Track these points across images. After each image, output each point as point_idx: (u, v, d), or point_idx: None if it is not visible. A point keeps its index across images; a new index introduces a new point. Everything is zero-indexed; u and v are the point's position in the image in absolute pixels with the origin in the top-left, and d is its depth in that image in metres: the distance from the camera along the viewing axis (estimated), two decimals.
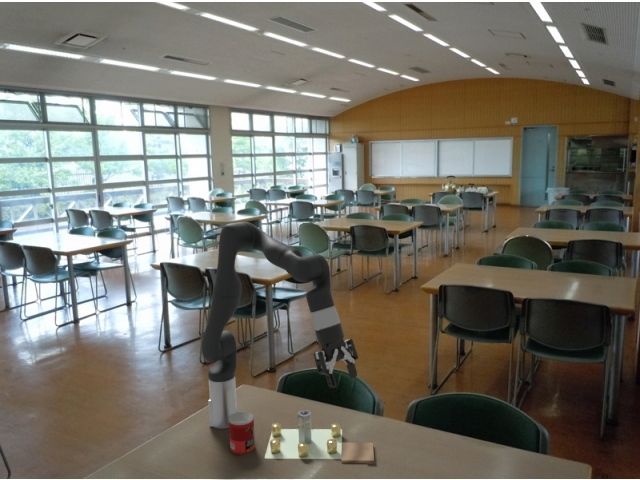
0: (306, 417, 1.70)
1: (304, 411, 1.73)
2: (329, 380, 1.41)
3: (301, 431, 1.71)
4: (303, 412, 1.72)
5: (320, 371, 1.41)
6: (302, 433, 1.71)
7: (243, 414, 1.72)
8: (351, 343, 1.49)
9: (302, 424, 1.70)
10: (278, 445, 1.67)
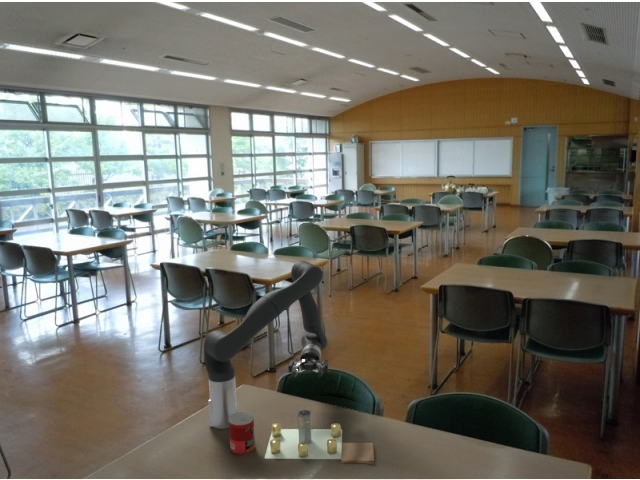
0: (306, 417, 1.70)
1: (304, 411, 1.73)
2: (322, 372, 1.85)
3: (301, 431, 1.71)
4: (303, 412, 1.72)
5: None
6: (302, 433, 1.71)
7: (243, 414, 1.72)
8: None
9: (302, 424, 1.70)
10: (278, 445, 1.67)
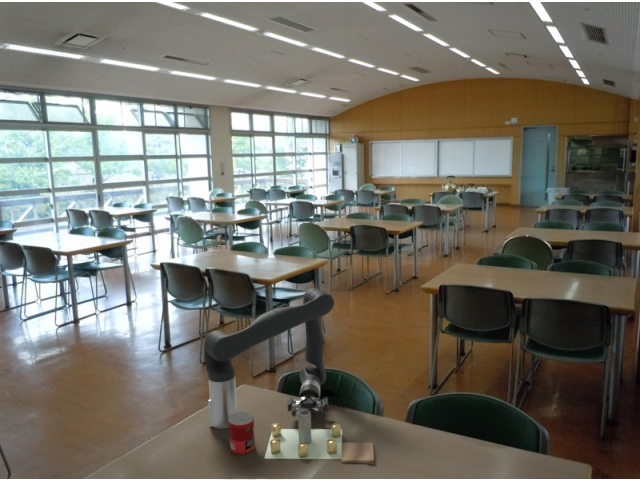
0: (306, 417, 1.70)
1: (304, 411, 1.73)
2: (322, 411, 1.82)
3: (301, 431, 1.71)
4: (303, 412, 1.72)
5: None
6: (302, 433, 1.71)
7: (243, 414, 1.72)
8: None
9: (302, 424, 1.70)
10: (278, 445, 1.67)
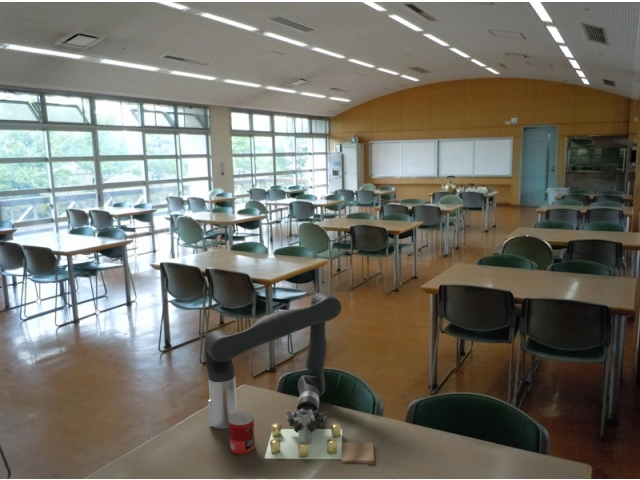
0: (306, 417, 1.70)
1: (304, 411, 1.73)
2: None
3: (301, 431, 1.71)
4: (303, 412, 1.72)
5: None
6: (302, 433, 1.71)
7: (243, 414, 1.72)
8: None
9: (302, 424, 1.70)
10: (278, 445, 1.67)
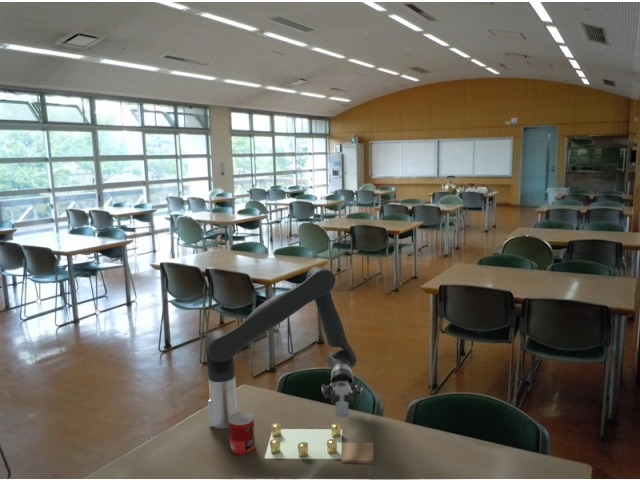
0: (344, 388, 1.63)
1: (341, 382, 1.66)
2: None
3: (338, 403, 1.64)
4: (340, 383, 1.65)
5: None
6: (339, 405, 1.64)
7: (243, 414, 1.72)
8: None
9: (339, 396, 1.64)
10: (278, 445, 1.67)
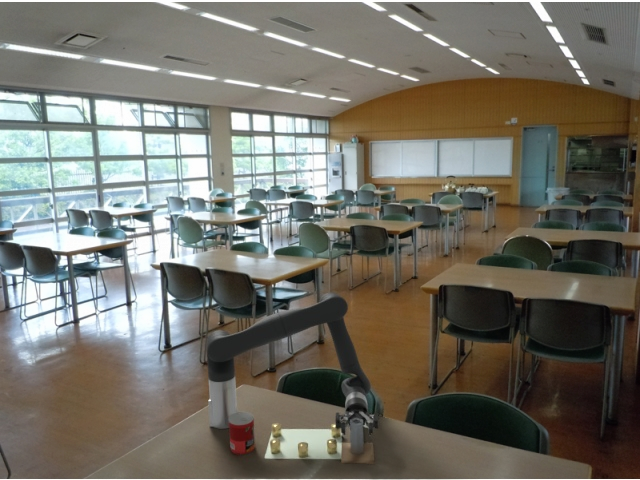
0: (359, 426, 1.62)
1: (356, 419, 1.65)
2: None
3: (353, 440, 1.63)
4: (355, 420, 1.64)
5: None
6: (354, 442, 1.63)
7: (243, 414, 1.72)
8: None
9: (355, 433, 1.63)
10: (278, 445, 1.67)
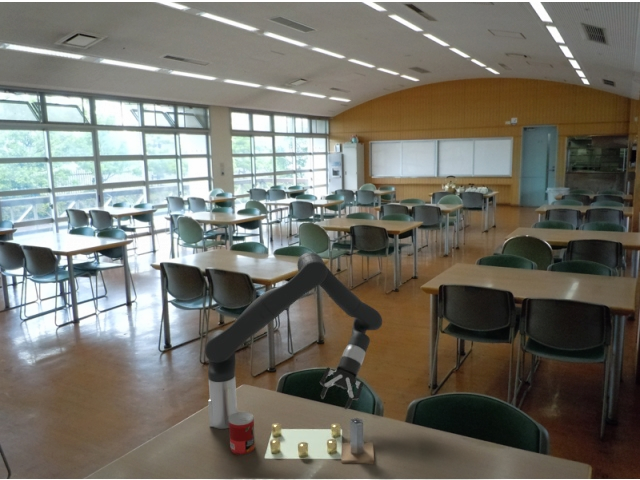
0: (359, 426, 1.62)
1: (356, 419, 1.65)
2: (350, 404, 1.79)
3: (353, 440, 1.63)
4: (355, 420, 1.64)
5: (358, 397, 1.79)
6: (354, 442, 1.63)
7: (243, 414, 1.72)
8: None
9: (355, 433, 1.63)
10: (278, 445, 1.67)
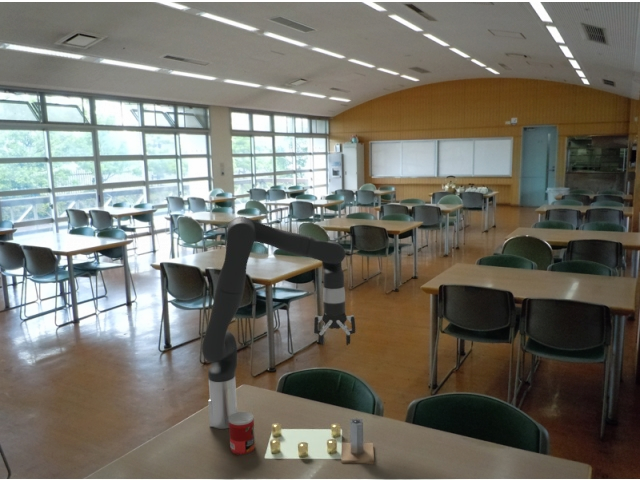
0: (359, 426, 1.62)
1: (356, 419, 1.65)
2: None
3: (353, 440, 1.63)
4: (355, 420, 1.64)
5: None
6: (354, 442, 1.63)
7: (243, 414, 1.72)
8: None
9: (355, 433, 1.63)
10: (278, 445, 1.67)
